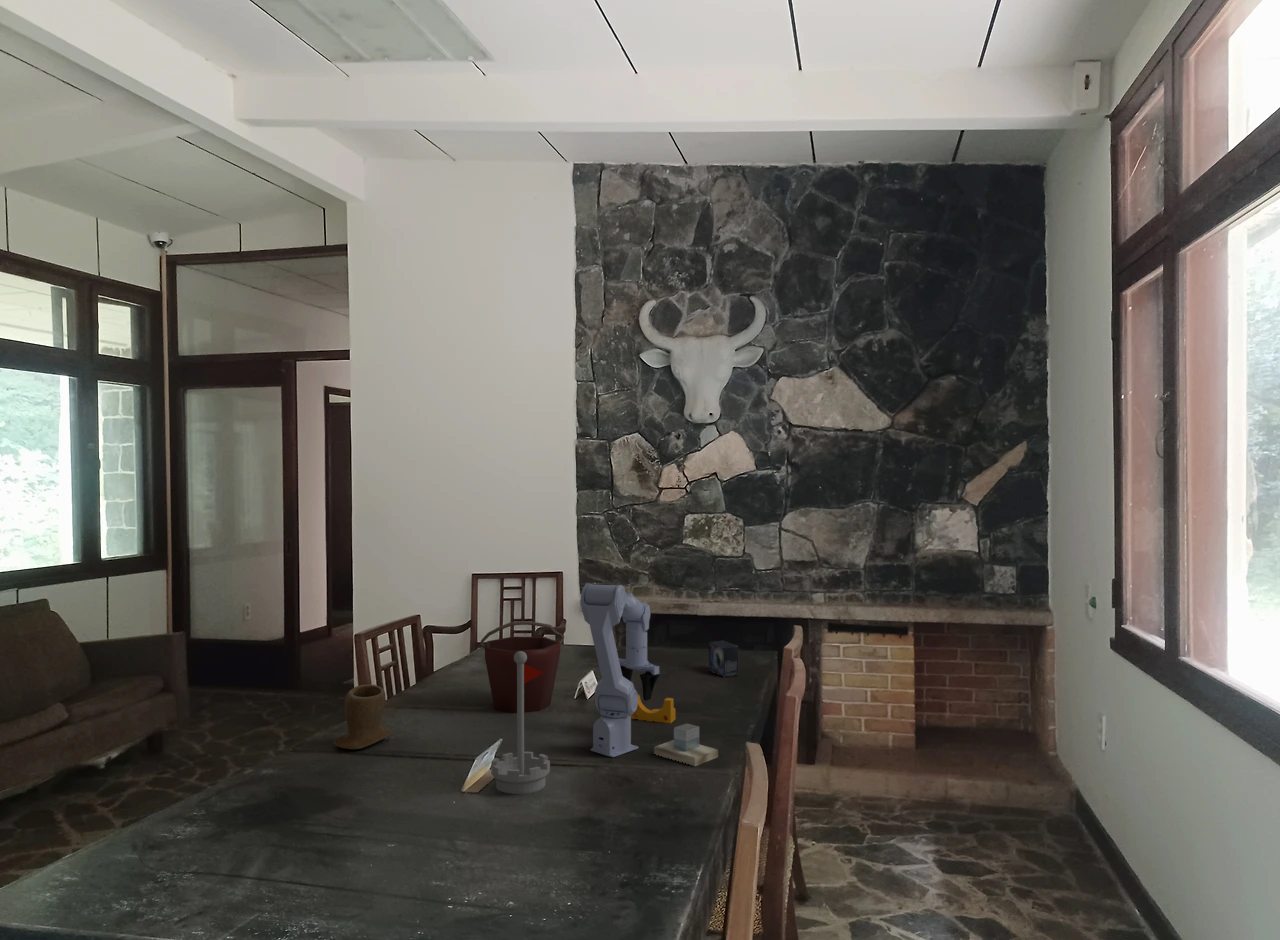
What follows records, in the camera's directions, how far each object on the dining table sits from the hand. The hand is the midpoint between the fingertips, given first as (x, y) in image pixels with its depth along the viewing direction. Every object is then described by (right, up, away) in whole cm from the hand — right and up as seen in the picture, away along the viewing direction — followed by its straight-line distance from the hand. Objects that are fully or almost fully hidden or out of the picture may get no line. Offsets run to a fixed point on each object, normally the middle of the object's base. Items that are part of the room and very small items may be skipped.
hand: (636, 697), depth 234 cm
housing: (+12, -7, -19) cm, 24 cm away
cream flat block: (+12, -9, -19) cm, 25 cm away
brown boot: (-70, -10, -9) cm, 71 cm away
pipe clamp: (+4, -10, +12) cm, 16 cm away
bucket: (-34, -10, +26) cm, 44 cm away
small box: (+30, -10, +66) cm, 73 cm away
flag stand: (-26, -10, -39) cm, 48 cm away
